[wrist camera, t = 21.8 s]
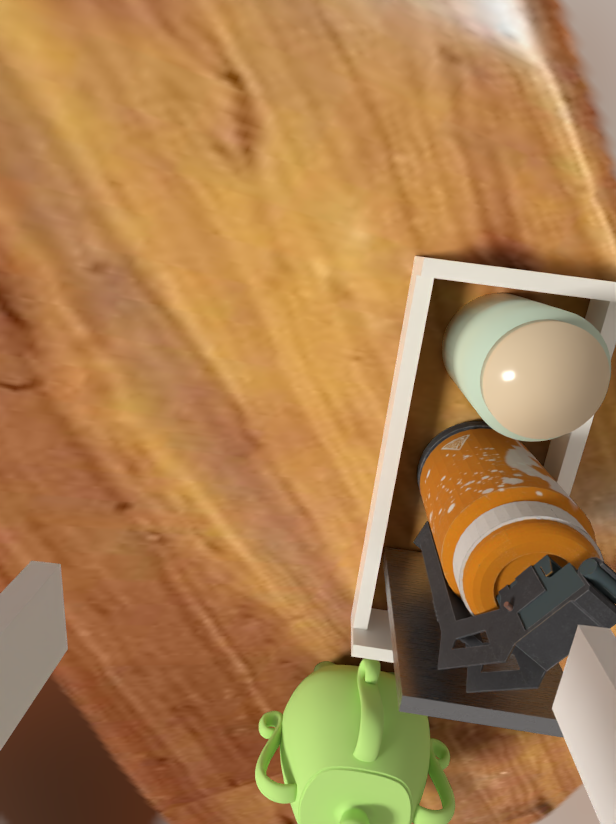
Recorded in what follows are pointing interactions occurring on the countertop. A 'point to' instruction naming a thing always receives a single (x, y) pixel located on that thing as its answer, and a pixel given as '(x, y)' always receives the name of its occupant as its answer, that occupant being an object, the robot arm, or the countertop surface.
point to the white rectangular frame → (608, 312)
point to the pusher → (446, 688)
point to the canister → (506, 558)
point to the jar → (527, 365)
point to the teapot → (353, 751)
